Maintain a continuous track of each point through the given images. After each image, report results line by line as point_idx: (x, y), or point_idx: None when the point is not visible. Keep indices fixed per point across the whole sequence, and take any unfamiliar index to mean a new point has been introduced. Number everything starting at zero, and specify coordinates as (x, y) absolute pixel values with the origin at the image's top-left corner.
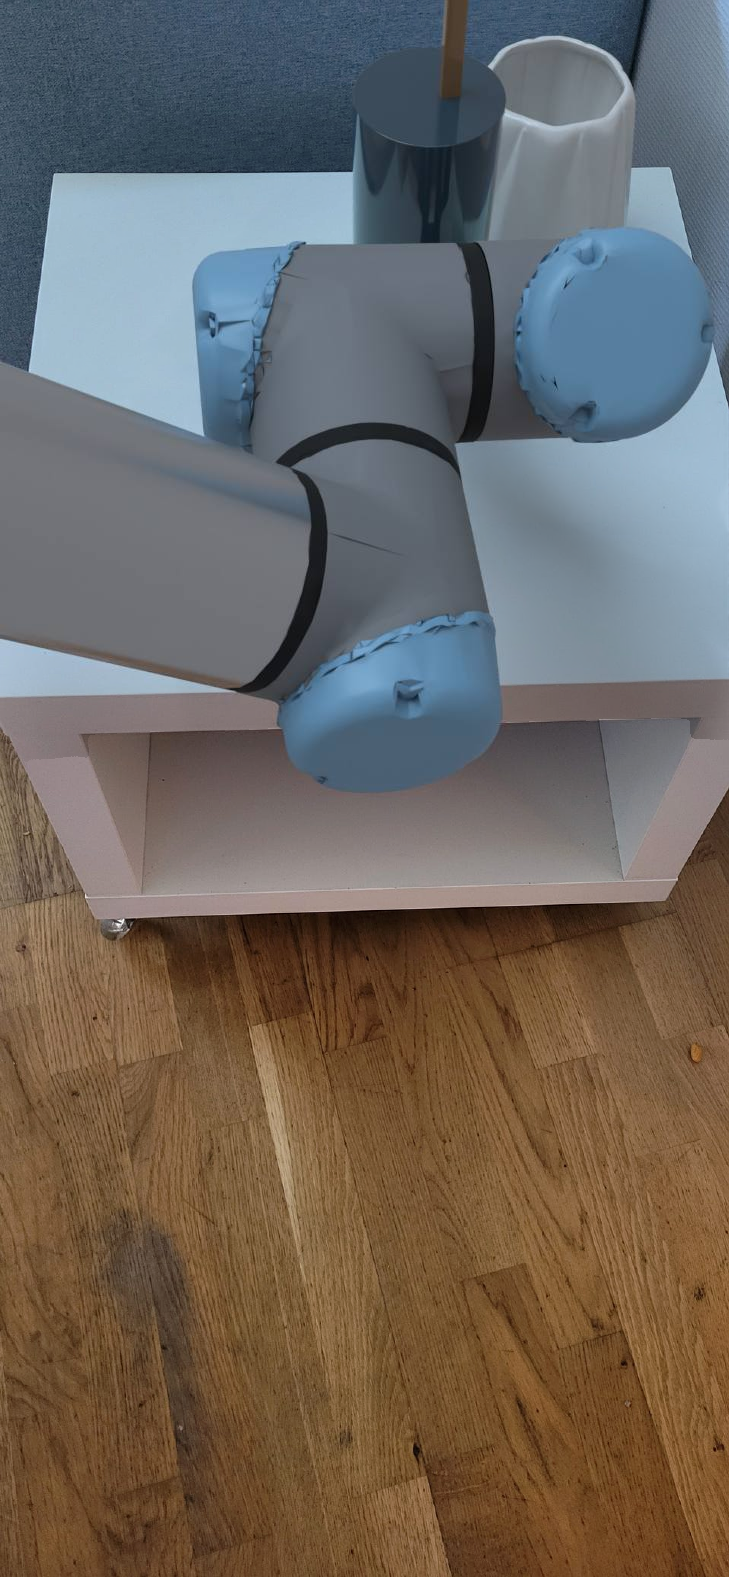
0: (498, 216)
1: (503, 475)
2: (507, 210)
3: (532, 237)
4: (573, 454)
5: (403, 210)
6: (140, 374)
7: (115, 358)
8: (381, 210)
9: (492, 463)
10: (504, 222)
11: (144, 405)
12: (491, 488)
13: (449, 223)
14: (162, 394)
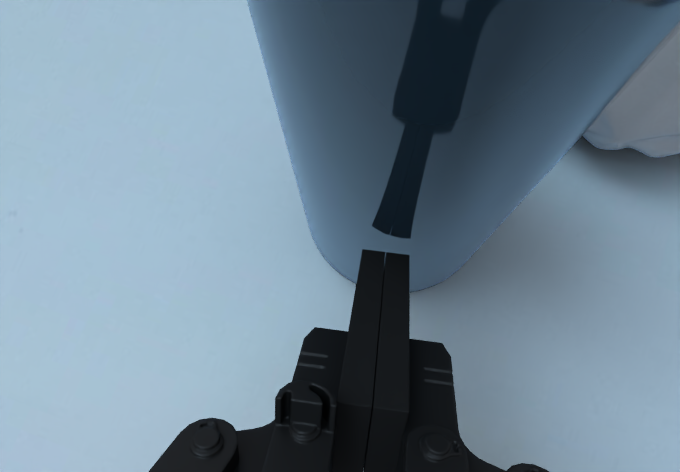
0: None
1: (470, 436)
2: None
3: (675, 67)
4: (597, 432)
5: (317, 34)
6: (41, 92)
7: (23, 59)
8: (262, 2)
9: (461, 406)
10: None
11: (23, 142)
12: None
13: (483, 115)
14: (53, 132)
